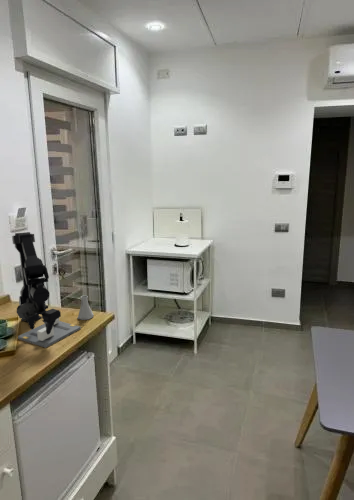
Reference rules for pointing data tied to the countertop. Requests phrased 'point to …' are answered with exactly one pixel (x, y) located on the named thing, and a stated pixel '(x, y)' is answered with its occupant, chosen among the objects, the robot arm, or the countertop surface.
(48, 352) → the countertop surface
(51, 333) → the slider
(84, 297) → the flask
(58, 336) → the switch panel
